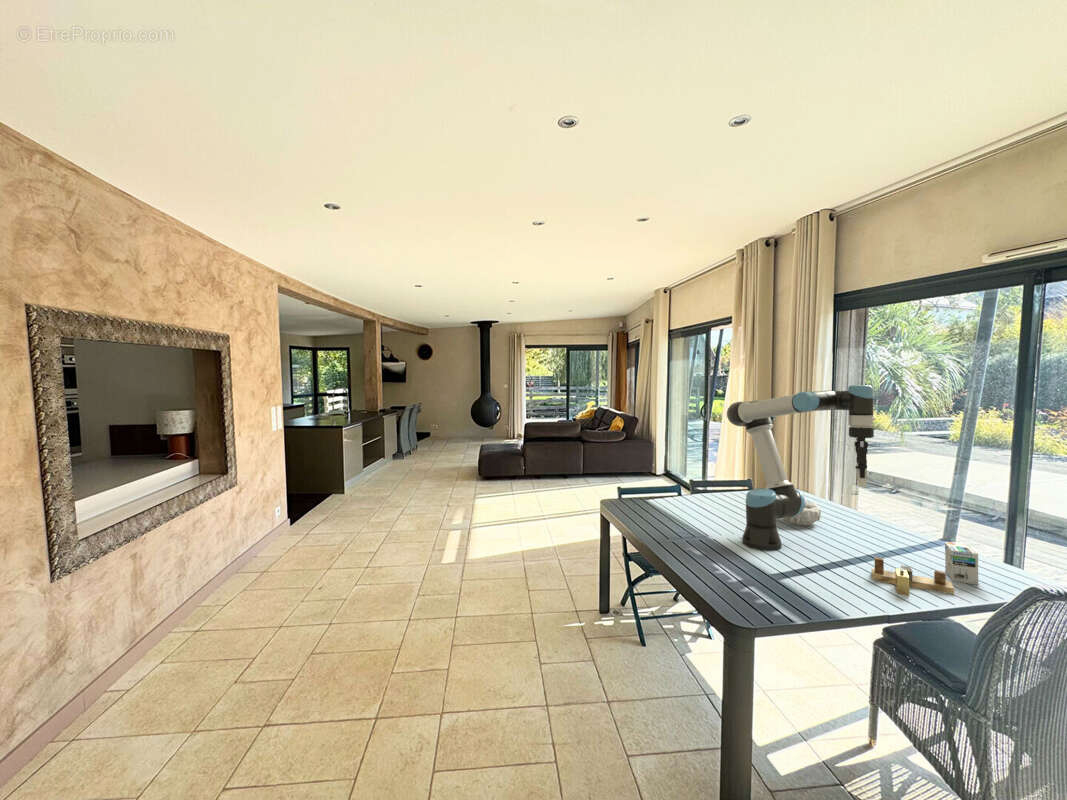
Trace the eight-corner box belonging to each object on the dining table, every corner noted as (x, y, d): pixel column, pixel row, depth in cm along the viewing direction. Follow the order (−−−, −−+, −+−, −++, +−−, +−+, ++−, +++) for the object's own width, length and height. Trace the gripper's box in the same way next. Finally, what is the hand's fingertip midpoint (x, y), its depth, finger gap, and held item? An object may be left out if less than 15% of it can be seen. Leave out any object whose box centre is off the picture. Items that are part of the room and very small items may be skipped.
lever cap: (897, 593, 145) (897, 571, 145) (895, 585, 150) (895, 564, 150) (909, 596, 143) (909, 573, 143) (906, 587, 149) (906, 566, 149)
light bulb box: (979, 585, 149) (979, 553, 149) (952, 581, 153) (952, 550, 152) (969, 574, 158) (969, 544, 158) (944, 570, 162) (944, 541, 161)
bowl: (832, 529, 210) (832, 508, 210) (789, 530, 210) (788, 509, 210) (806, 517, 231) (805, 498, 231) (766, 518, 231) (766, 499, 231)
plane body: (872, 579, 155) (872, 560, 155) (871, 573, 160) (871, 554, 160) (954, 594, 143) (954, 572, 143) (950, 587, 148) (950, 566, 148)
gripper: (875, 429, 152) (876, 491, 153) (871, 424, 173) (872, 478, 173) (849, 429, 157) (849, 488, 157) (848, 423, 177) (848, 476, 177)
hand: (861, 483), depth 165 cm, fingers open, 13 cm apart
